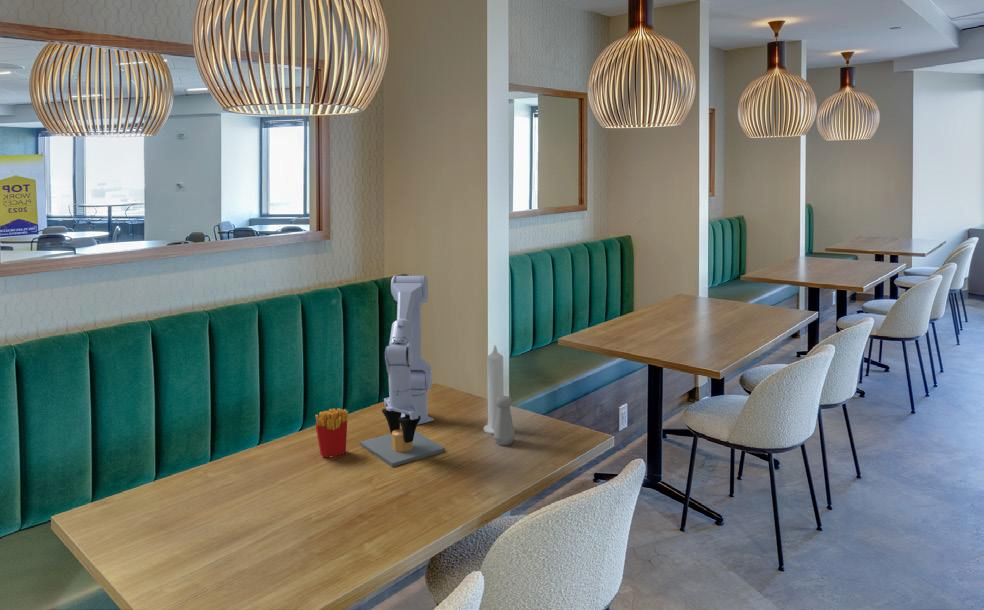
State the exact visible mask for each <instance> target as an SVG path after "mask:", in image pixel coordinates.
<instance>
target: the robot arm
mask: <svg viewBox="0 0 984 610" xmlns="http://www.w3.org/2000/svg"><path fill="white" fill-rule="evenodd" d="M428 280H429V279H428V278H427V276H426V275H425V274H424V275H397V274H396V275H393V277H392V278H391V281H390V292H391V296H392V297H393V300H394V301H395V302H397V307H396V308H397V309H396V313H397V314H396V320H394V321H393V322H392V324H391V329H390V337H389V343H388V345H386V347H385V351H384V360H385V366H386V372H387V376H388V393H389V394H388V395H389V397H385V398H383V404H384V405H383V406H385V408H382V409H381V411H382V412H381V413H382V414H383V415H384V417H385V419H386V421H387V425H388V428H389V431H390V434H392V431H394V430H396V429H401V428H402V430H403V436H404V441H405V443H409V442H412V441H413V438H414V434H415V431H416V429H417V426H418V425H422V424H425V423H426V424H427V423H430V422H432V421H434V418H433V417H431V416H429V415H428V414H429V413H428V392H429V391H430V390H431V389H432V386H433V384H432V383H433V374H432V368H431V367H432V366H431V364H430V363H429V362H428V361H426V360H425V359H423V358H422V332H421V331H422V323H421V322H422V321H421V320H422V318H421V314H422V313H421V308H422V305H423V304H425V303H427V302H428V300H429V281H428Z"/></svg>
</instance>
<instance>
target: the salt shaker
mask: <svg viewBox="0 0 984 610" xmlns="http://www.w3.org/2000/svg"><path fill="white" fill-rule="evenodd" d="M496 405H497V406H498V412H497V418H496V424H495V430H494V434H493V438H494V440H495V443H496V444H497V445H499V446H509V445H511V444H513V441H514V439H515V436H516V435H515V434H516V433H515V428H514V425H513V424H514V423H513V419H512V412H511V406H512V405H513V400H512V398H511V397H510V396H507V395H504V396H500V397H498V398H497V399H496Z"/></svg>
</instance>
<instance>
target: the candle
mask: <svg viewBox="0 0 984 610" xmlns="http://www.w3.org/2000/svg"><path fill="white" fill-rule="evenodd" d="M492 349H493V350H492V352H491V353H490V354H489V355H487V356H486V361H487V362H486V363H487V367H486V368H487V369H486V371H487V372H486V373H487V375H486V376H487V377H486V378H487V424H486V425H484V426H483V431H484V432H485V433H487V434H490V435H494V430H495V424H496V418H497V412H498V406H497V405H496V399H497V398H498V397H500V396H505V395H504V356H503V355H502V354H500V352H498V348H497V345H495V344H494V345H493V348H492Z"/></svg>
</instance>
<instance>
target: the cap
mask: <svg viewBox="0 0 984 610" xmlns="http://www.w3.org/2000/svg"><path fill="white" fill-rule="evenodd" d="M391 437H392V449H393V450H394V451H396V452H406V451H409V450H411V449H412V448H413V441H412V442H409V443H405V441H404V436H403V430H402V427H400V429H396V430H394V431H392V435H391Z"/></svg>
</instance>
